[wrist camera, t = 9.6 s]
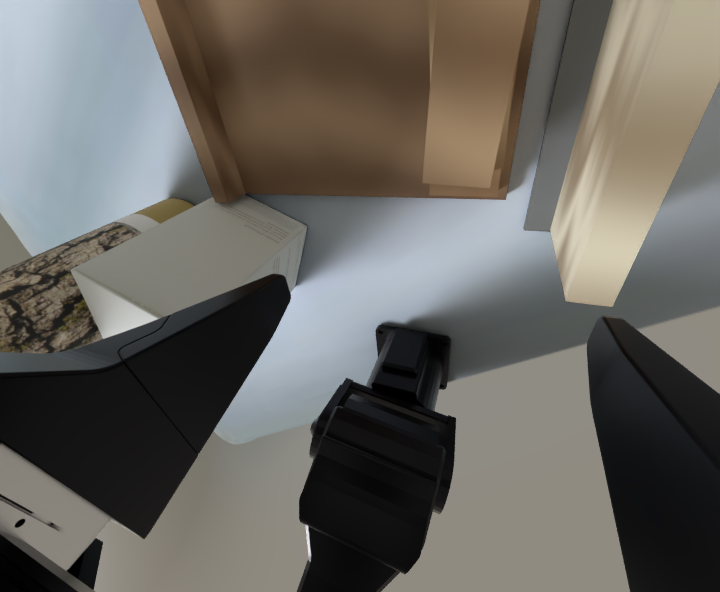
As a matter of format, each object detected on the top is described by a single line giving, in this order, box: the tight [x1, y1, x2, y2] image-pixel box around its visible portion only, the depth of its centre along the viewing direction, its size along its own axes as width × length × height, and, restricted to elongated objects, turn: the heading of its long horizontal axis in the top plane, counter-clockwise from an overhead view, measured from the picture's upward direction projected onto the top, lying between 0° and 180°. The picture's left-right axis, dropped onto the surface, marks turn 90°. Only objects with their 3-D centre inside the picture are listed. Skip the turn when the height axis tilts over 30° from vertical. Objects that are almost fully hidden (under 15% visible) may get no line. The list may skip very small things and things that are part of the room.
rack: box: [138, 0, 540, 203], centre depth 16 cm, size 14×19×3 cm
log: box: [0, 198, 194, 353], centre depth 20 cm, size 7×7×25 cm
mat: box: [524, 0, 613, 232], centre depth 15 cm, size 12×4×1 cm, turn 7°
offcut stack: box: [422, 0, 530, 197], centre depth 13 cm, size 13×4×3 cm, turn 7°
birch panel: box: [550, 0, 720, 307], centre depth 12 cm, size 12×2×7 cm, turn 7°
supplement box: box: [71, 194, 307, 339], centre depth 23 cm, size 7×7×13 cm
